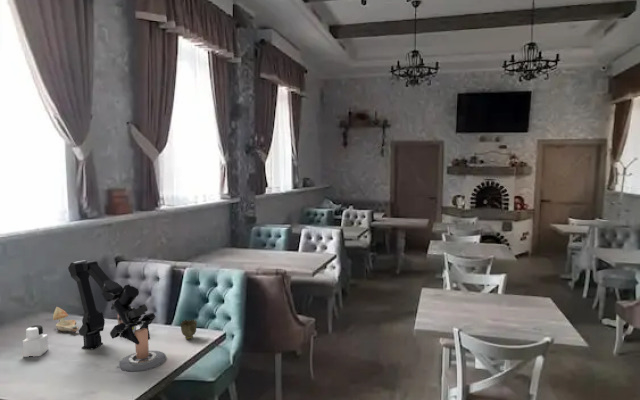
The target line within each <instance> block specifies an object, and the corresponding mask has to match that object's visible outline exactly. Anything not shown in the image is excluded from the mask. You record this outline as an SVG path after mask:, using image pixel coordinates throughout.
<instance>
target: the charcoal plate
mask: <svg viewBox="0 0 640 400" xmlns="http://www.w3.org/2000/svg"><path fill="white" fill-rule="evenodd" d="M149 352H154V353H156V359H155V360H154V361H153V362H151V363H148V364H145V365H139V366H138V365H131V364H129V357H131V356H132V355H134V354H136V352H134V353H131V354H129V355H126V356H125V357H123V358H122V359H121V360H119V363H118V367H119V369H120V370H122V371H124V372H132V373H134V372H143V371H148V370H152V369H154V368H156V367H158V366H161V365H162V364H163V363H164V362H166V360H167V356H166V354H165V352H163V351H160V350H149ZM151 357H152V356H148V357H147V358H144V359H137V358H135V359H134V361H144V360H148V359H150V358H151Z"/></svg>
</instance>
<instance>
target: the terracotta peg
mask: <svg viewBox="0 0 640 400" xmlns="http://www.w3.org/2000/svg"><path fill="white" fill-rule="evenodd" d="M148 329H149V328H148ZM148 329H146V328H142V329H140V328H138V329H137V328H136V330H135V333H134V334H135V336H136V338H137V339H138V341H139V344H138V345H137V344H135V343H134V344H135V345H134V346H135V353H136V358H137V359H144V358H147V357H148V356H149V351H150V350H149V340H148Z"/></svg>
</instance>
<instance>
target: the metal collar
mask: <svg viewBox="0 0 640 400" xmlns="http://www.w3.org/2000/svg"><path fill="white" fill-rule="evenodd" d="M133 354H134V353H133ZM149 356H152V357H151V358H150V359H148V360H144V361H134V359H135V358H136V354H134V355H132V356H131V357H129V364H131V365H138V366H139V365H145V364H148V363H151V362H153V361H154V360H155V359H156V353H154V352H149Z"/></svg>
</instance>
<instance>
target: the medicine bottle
mask: <svg viewBox="0 0 640 400" xmlns="http://www.w3.org/2000/svg"><path fill="white" fill-rule="evenodd" d="M25 335H26V338H25V339H24V340H22V341H21V342H22V343H21V344H22V357H23V358H27V357H29V356H33V357H41V356H42V355H44V354H45V353H46V352H48V351H49V337H48V336H49V335H48V334H47V333H46V334H44V329H43V326H42V325H40V324H37V325H31V326H28V327H27V328H26V330H25Z"/></svg>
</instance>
